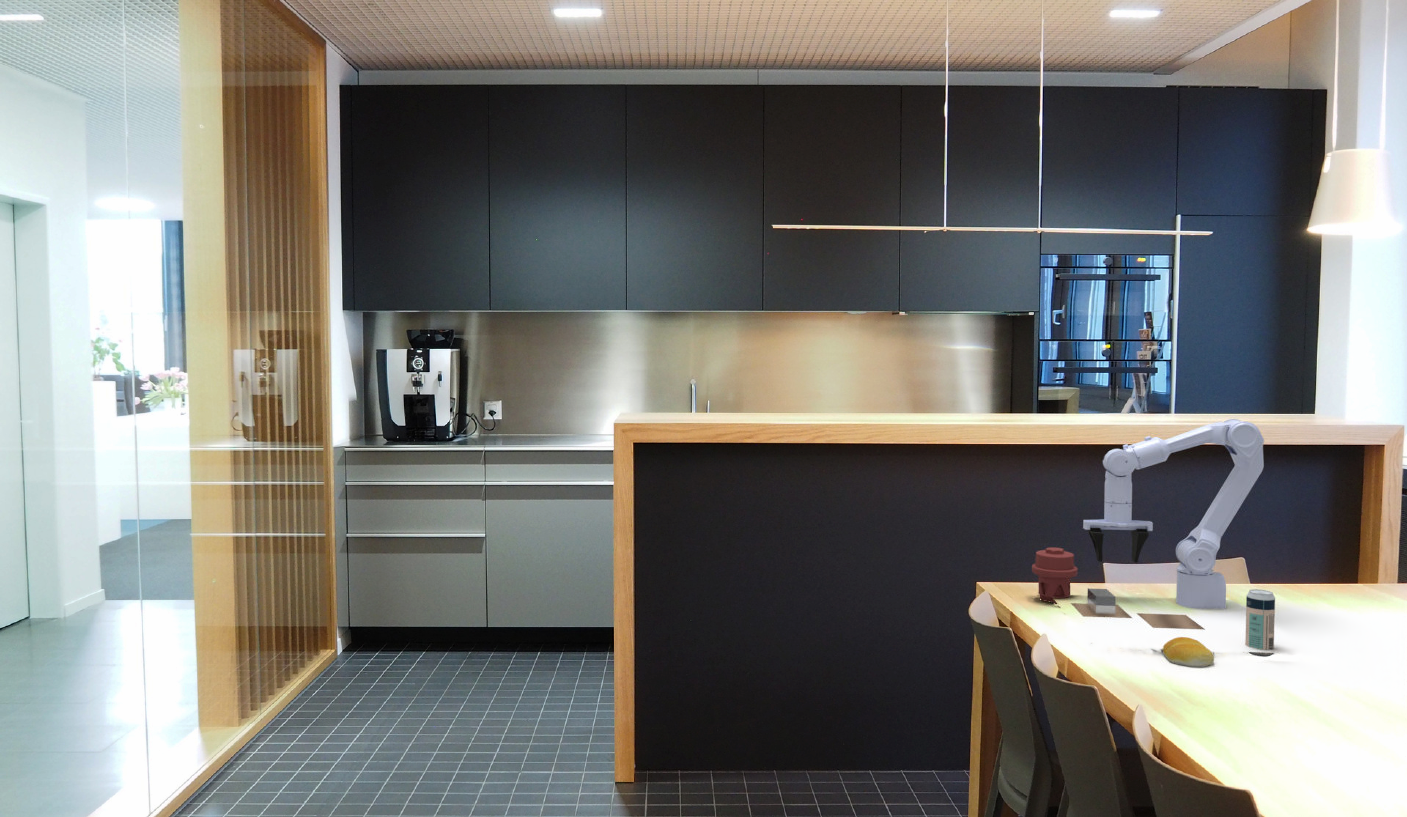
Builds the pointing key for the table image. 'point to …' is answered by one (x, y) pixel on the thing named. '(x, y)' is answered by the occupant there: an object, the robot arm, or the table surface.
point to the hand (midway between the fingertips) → (1117, 561)
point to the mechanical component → (1054, 573)
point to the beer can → (1260, 621)
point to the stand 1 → (1087, 612)
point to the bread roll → (1188, 652)
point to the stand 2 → (1170, 621)
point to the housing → (1101, 601)
